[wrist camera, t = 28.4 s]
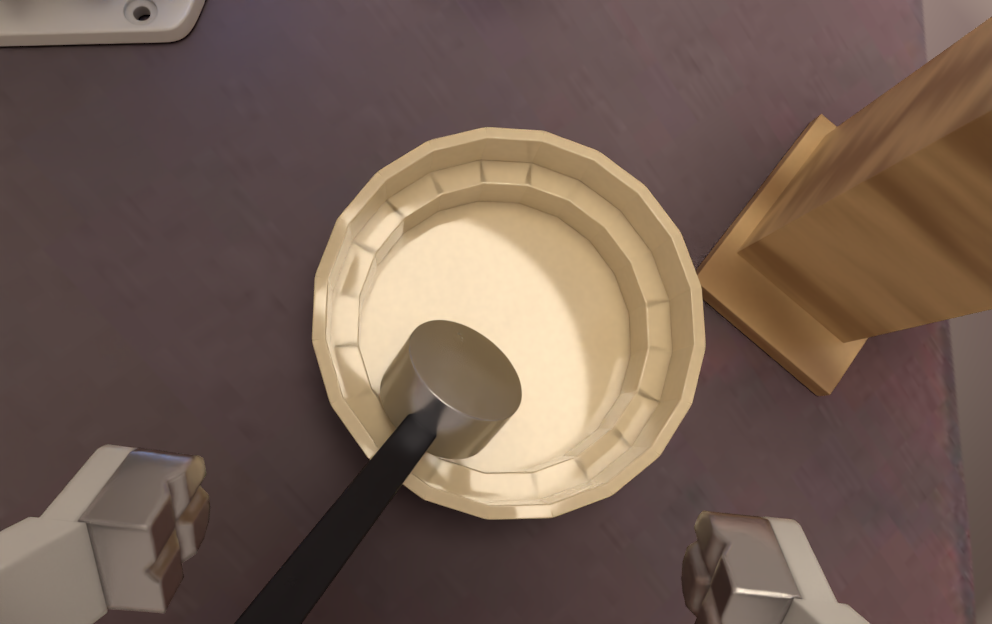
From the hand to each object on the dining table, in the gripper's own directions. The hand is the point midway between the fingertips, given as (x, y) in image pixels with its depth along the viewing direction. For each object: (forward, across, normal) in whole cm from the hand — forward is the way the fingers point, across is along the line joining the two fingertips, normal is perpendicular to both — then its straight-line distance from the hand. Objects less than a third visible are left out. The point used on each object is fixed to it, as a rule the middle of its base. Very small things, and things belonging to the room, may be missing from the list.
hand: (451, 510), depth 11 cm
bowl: (+24, -1, +10) cm, 26 cm away
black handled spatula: (+11, +4, +12) cm, 16 cm away
